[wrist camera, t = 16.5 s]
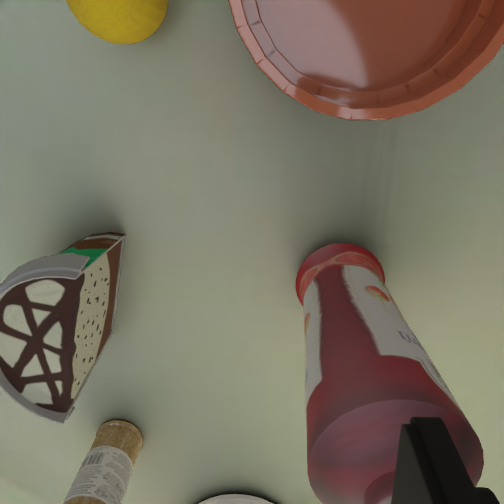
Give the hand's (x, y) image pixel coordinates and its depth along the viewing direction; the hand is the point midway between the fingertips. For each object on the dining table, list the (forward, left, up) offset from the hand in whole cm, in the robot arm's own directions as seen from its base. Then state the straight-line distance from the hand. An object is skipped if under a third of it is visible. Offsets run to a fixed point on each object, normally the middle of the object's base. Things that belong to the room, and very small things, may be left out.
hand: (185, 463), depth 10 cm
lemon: (+7, -12, -26) cm, 30 cm away
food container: (+14, +8, -26) cm, 31 cm away
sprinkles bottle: (+13, +25, -26) cm, 39 cm away
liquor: (-7, +8, -26) cm, 28 cm away
